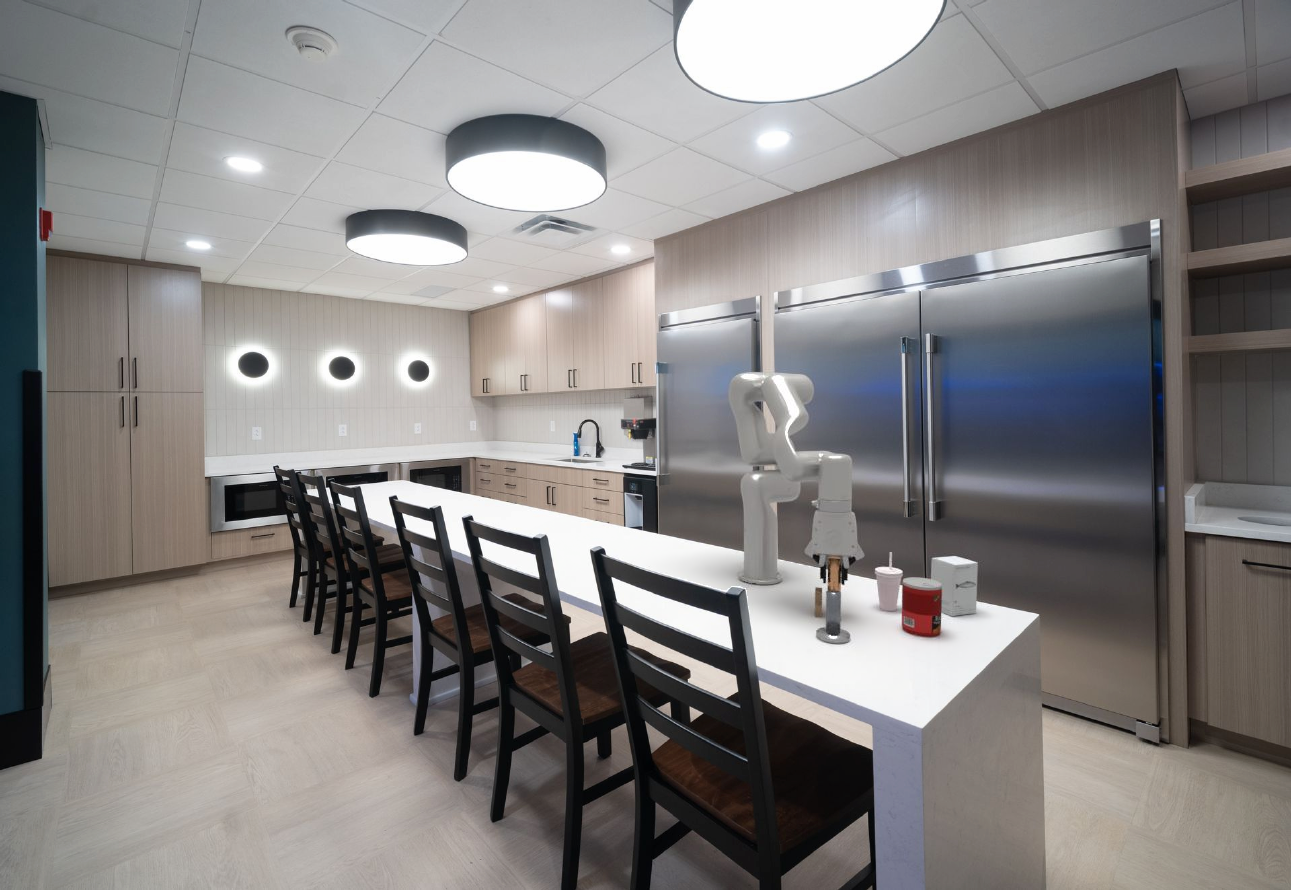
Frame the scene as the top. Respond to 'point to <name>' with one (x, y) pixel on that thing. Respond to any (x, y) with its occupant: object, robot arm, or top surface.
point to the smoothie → (888, 585)
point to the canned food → (921, 606)
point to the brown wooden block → (818, 602)
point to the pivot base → (833, 636)
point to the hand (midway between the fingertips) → (833, 581)
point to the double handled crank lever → (833, 596)
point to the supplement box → (956, 584)
